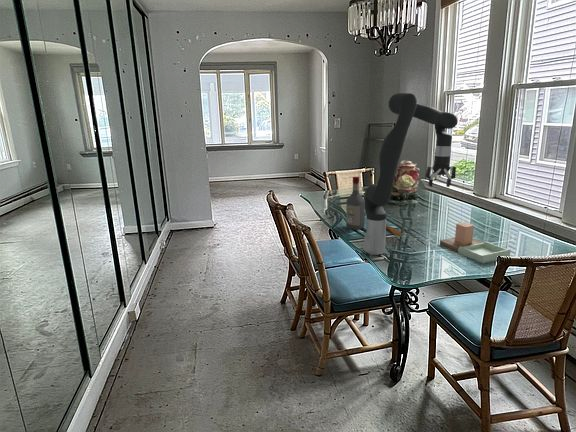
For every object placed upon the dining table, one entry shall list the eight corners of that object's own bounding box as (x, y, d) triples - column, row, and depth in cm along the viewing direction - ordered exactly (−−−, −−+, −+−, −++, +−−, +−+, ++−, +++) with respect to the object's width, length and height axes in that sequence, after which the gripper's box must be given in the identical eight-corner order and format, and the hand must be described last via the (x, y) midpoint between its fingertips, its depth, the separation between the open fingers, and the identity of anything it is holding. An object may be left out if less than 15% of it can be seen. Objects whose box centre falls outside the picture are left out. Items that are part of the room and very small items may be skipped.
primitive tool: (404, 235, 209) (404, 229, 208) (395, 236, 207) (396, 230, 206) (383, 226, 226) (383, 220, 225) (375, 227, 225) (375, 221, 224)
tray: (482, 263, 168) (483, 255, 167) (457, 252, 181) (458, 244, 180) (509, 257, 173) (510, 249, 172) (483, 247, 187) (484, 239, 185)
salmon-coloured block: (464, 244, 184) (465, 227, 182) (454, 240, 190) (456, 223, 187) (472, 243, 186) (473, 225, 183) (462, 239, 191) (464, 222, 189)
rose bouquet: (376, 198, 291) (377, 159, 282) (413, 196, 294) (415, 157, 285) (389, 206, 266) (390, 163, 258) (428, 204, 269) (431, 161, 261)
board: (457, 252, 181) (458, 247, 181) (439, 244, 192) (440, 240, 191) (483, 247, 187) (483, 242, 186) (464, 240, 197) (464, 235, 197)
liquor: (357, 230, 218) (358, 179, 210) (344, 227, 224) (344, 177, 216) (366, 226, 224) (367, 176, 216) (353, 224, 230) (353, 175, 222)
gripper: (430, 155, 188) (427, 188, 192) (459, 155, 187) (456, 188, 191) (425, 154, 195) (423, 185, 199) (454, 154, 194) (450, 185, 199)
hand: (439, 186), depth 195 cm, fingers open, 8 cm apart
